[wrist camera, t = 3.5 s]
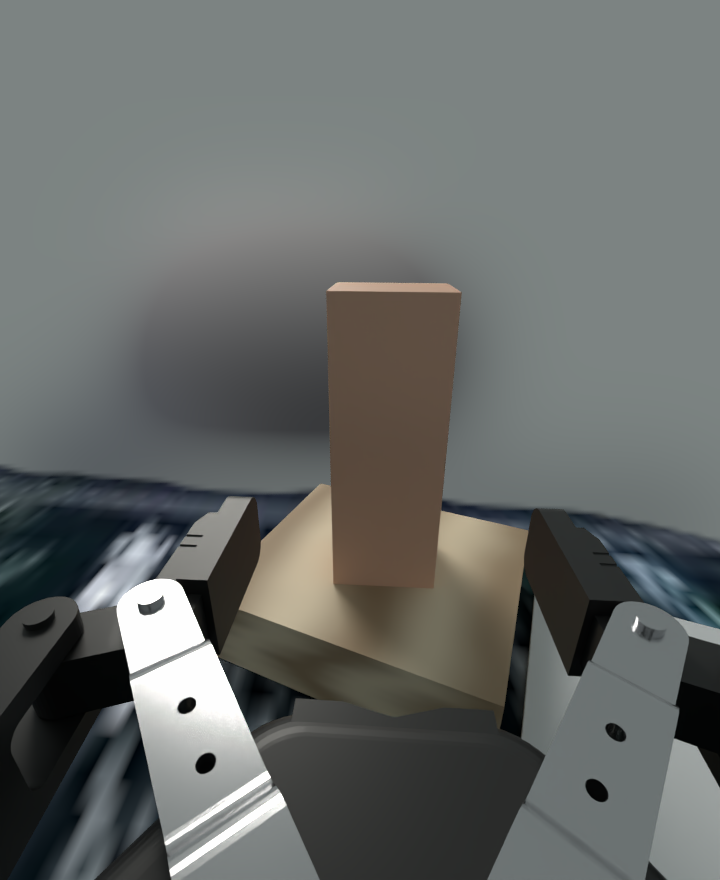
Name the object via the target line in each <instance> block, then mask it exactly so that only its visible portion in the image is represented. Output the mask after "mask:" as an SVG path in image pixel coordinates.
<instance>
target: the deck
mask: <svg viewBox="0 0 720 880" xmlns="http://www.w3.org/2000/svg"><path fill="white" fill-rule="evenodd" d="M527 537H528V530H524V529H519V528H515V527H510V526H506V525H501V524H497V523H493V522H488V521H484V520H479V519H475V518H470V517H466V516H462V515H457V514H453V513H448V512H444V511H441V515H440V526H439V537H438V547H437V558H436V568H435V579H434V588H412V587H389V586H367V585H344V584H333V550H332V508H331V486H329V485H325V484H320V485H319V486H318V487H317V488H316V489H315V490H314V491H312V492H311V493H310V494H309V495H308V496H307V497H306V498H305V499H304V500H303V501H302V502H301V503H300V504H299V505H298V506H297V507H296V508H295V509H294V510H293V511H292V512H291V513H290V514H289V515H288V516H287V517H286V518H285V519H284V520H283V521H282V522H280V523H279V524H278V525H277V526H276V527H275V528H274V529H273V530H272V531H271V532H270V533H269V534H268V535H267V536H266V537H265V538H264V539H263V540H262V541H261V549H260V556H259V561H258V563H257V566H256V568H255V571H254V573H253V576H252V578H251V581H250V583H249V585H248V588H247V590H246V593H245V595H244V598H243V600H242V602H241V605H240V607H239V610H238V612H237V615H236V617H235V620H234V622H233V624H232V627H231V629H230V632H229V634H228V637H227V639H226V642H225V644H224V646H223V649H222V651H221V654H220V655H217V657H219V658H221V659H224V660H226V661H228V662H231V663H233V664H235V665H238V666H240V667H242V668H245V669H247V670H249V671H252V672H254V673H257V674H259V675H261V676H264V677H266V678H268V679H271V680H273V681H275V682H278V683H280V684H282V685H285V686H287V687H290V688H292V689H294V690H297V691H299V692H301V693H304V694H306V695H308V696H311V697H313V698H315V699H318V700H331V701H344V702H347V703H350V704H354V705H357V706H360V707H363V708H366V709H369V710H372V711H375V712H378V713H381V714H384V715H388V716H392V717H398V716H404V715H409V714H414V713H419V712H424V711H429V710H434V709H439V708H444V707H446V708H462V709H479V710H494V715H495V719H496V723H497V728H498V729H500V726H501V721H502V716H503V711H504V706H505V699H506V691H507V684H508V677H509V669H510V662H511V655H512V647H513V640H514V633H515V625H516V618H517V611H518V603H519V596H520V589H521V581H522V574H523V566H524V552H525V547H526V542H527Z"/></svg>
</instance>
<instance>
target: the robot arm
mask: <svg viewBox="0 0 720 880" xmlns="http://www.w3.org/2000/svg"><path fill="white" fill-rule="evenodd" d="M260 549H261V539H260V529H259V520H258V510H257V502H256V499H255V498H254V497H234V496H229V497H228V498H227V499H226V500H225V502H224V503H223V505H222V507H221V508H220V510H219V511H218V513H210V512H209V513H208V514H206V515H205V516H204V517H202V518H201V519H199V520H198V521H197V522H195V523H194V525H193V526H192V528H191V529H190V531H189V532H188V534H187V537H185V538H184V539H183V541H182V542H181V544H180V547H178V548H177V549H176V551H175V552H174V554H173V555H172V557H171V558H170V560H169V561H168V562H167V564H166V565H165V567H164V568H163V570H162V571H161V572H160V574H159V575H158V577H157V578H156V580H152V581H149V582H145V583H143V584H140V585H138V586H136V587H135V588H133V589H132V590H130V591H129V592H128V593H126V594H125V595H124V596H123V597H122V599H121V600H120V602H119V604H118V605H117V606H113V607H108V608H103V609H98V610H93V611H87V612H82V613H80V612H79V609H78V606H77V604H76V602H75V601H74V600H73V599H70V598H67V597H52V598H47V599H43V600H40V601H37V602H35V603H32V604H30V605H28V606H26V607H24V608H23V609H21V610H20V611H18V612H17V613H15V614H14V615H13V616H12V617H11V618H10V619H9V620H8V621H7V622H6V623H5V624H4V625H3V626H2V627H1V628H0V880H7V879H8V877H9V876H10V874H11V872H12V870H13V868H14V867H15V865H16V863H17V861H18V859H19V858H20V856H21V854H22V852H23V850H24V849H25V847H26V845H27V843H28V841H29V839H30V838H31V836H32V834H33V832H34V830H35V829H36V827H37V825H38V823H39V821H40V820H41V818H42V816H43V814H44V812H45V811H46V809H47V807H48V805H49V803H50V801H51V800H52V798H53V796H54V794H55V792H56V791H57V789H58V787H59V785H60V783H61V782H62V780H63V778H64V776H65V774H66V773H67V771H68V769H69V767H70V765H71V763H72V762H73V760H74V758H75V756H76V754H77V753H78V751H79V749H80V747H81V745H82V744H83V742H84V740H85V738H86V736H87V735H88V733H89V731H90V729H91V727H92V725H93V724H94V722H95V720H96V718H97V716H98V715H99V713H100V711H101V709H102V708H106V707H110V706H114V705H118V704H122V703H126V702H130V701H134V702H135V707H136V711H137V716H138V721H139V725H140V730H141V735H142V739H143V744H144V748H145V753H146V758H147V762H148V767H149V772H150V776H151V781H152V786H153V790H154V795H155V799H156V804H157V809H158V813H159V818H158V819H157V820H156V821H155V822H154V823H153V824H152V825H151V826H150V827H149V828H148V829H147V830H146V831H145V832H144V833H143V834H142V835H141V836H140V837H139V838H137V839H136V840H135V841H134V842H133V843H132V844H131V845H130V846H129V847H128V848H127V849H126V850H125V851H124V852H123V853H122V854H121V855H120V856H119V857H118V858H117V859H116V860H115V861H113V862H112V863H111V864H110V865H109V866H108V867H107V868H106V869H105V870H104V871H103V872H102V873H101V874H100V875H99V876H98V877H97V878H96V879H95V880H667V879H666V878H665V877H664V876H663V875H662V874H661V873H660V872H659V871H658V870H657V869H656V868H655V867H654V866H653V865H652V863H651V862H650V861H649V857H650V853H651V848H652V843H653V838H654V833H655V828H656V823H657V818H658V814H659V809H660V804H661V799H662V794H663V789H664V784H665V779H666V775H667V770H668V765H669V760H670V755H671V750H672V745H673V740H674V739H677V740H680V741H683V742H685V743H688V744H691V745H694V746H697V748H698V750H699V751H700V753H701V755H702V757H703V759H704V760H705V762H706V764H707V766H708V768H709V769H710V771H711V773H712V775H713V777H714V778H715V780H716V782H717V784H718V786H719V788H720V645H719V644H715V643H711V642H708V641H704V640H701V639H697V638H694V637H691V636H688V634H687V632H686V630H685V629H684V627H683V626H682V625H681V624H680V623H679V622H678V621H677V620H676V619H675V618H674V617H672V616H671V615H669V614H668V613H666V612H665V611H663V610H661V609H659V608H657V607H654V606H652V605H649V604H645V603H644V602H643V600H642V599H641V598H640V596H639V595H638V593H637V592H636V591H635V589H634V588H633V586H632V585H631V584H630V582H629V581H628V579H627V578H626V576H625V575H624V574H623V572H622V571H621V569H620V568H619V567H617V565H616V562H615V561H614V560H613V558H612V557H611V556H609V553H608V551H607V550H606V548H605V547H604V545H603V544H602V543H601V541H600V540H599V539H598V538H596V537H595V536H594V535H592V534H591V533H590V532H588V531H587V530H586V529H584V528H576V527H575V525H574V524H573V522H572V521H571V519H570V518H569V516H568V515H567V513H566V512H565V511H564V510H562V509H538V508H536V509H534V511H533V513H532V516H531V521H530V526H529V531H528V537H527V542H526V547H525V552H524V567H525V572H526V576H527V578H528V581H529V583H530V585H531V588H532V590H533V593H534V595H535V597H536V600H537V602H538V605H539V607H540V610H541V612H542V614H543V617H544V619H545V622H546V624H547V626H548V629H549V631H550V634H551V636H552V639H553V641H554V643H555V646H556V648H557V651H558V653H559V656H560V658H561V660H562V663H563V665H564V668H565V670H566V672H567V675H568V676H579V677H581V678H580V680H579V683H578V685H577V687H576V689H575V691H574V694H573V696H572V698H571V700H570V703H569V705H568V707H567V709H566V711H565V714H564V716H563V718H562V720H561V723H560V725H559V727H558V729H557V731H556V734H555V736H554V738H553V740H552V743H551V745H550V747H549V749H548V751H547V754H546V755H545V754H543V753H542V752H541V751H540V750H538V749H537V748H535V747H534V746H533V745H531V744H530V743H528V742H526V741H525V740H523V739H521V738H519V737H518V736H515V735H513V734H511V733H509V732H506V731H504V730H501V729H498V728H497V723H496V719H495V715H494V710H479V709H462V708H446V707H444V708H439V709H434V710H429V711H424V712H419V713H414V714H409V715H404V716H398V717H392V716H388V715H384V714H381V713H378V712H375V711H372V710H369V709H366V708H363V707H360V706H357V705H354V704H350V703H347V702H344V701H331V700H314V699H298V698H296V700H295V705H294V710H293V715H291V716H286V717H283V718H280V719H277V720H274V721H271V722H269V723H267V724H265V725H263V726H261V727H259V728H257V729H256V730H254V731H252V732H251V733H250V730H249V728H248V726H247V724H246V721H245V719H244V717H243V714H242V712H241V710H240V708H239V705H238V703H237V701H236V698H235V696H234V694H233V692H232V689H231V687H230V685H229V682H228V680H227V678H226V676H225V673H224V671H223V669H222V667H221V664H220V662H219V660H218V657H217V655H220V654H221V651H222V649H223V646H224V644H225V642H226V639H227V637H228V634H229V632H230V629H231V627H232V624H233V622H234V620H235V617H236V615H237V612H238V610H239V607H240V605H241V602H242V600H243V598H244V595H245V593H246V590H247V588H248V585H249V583H250V581H251V578H252V576H253V573H254V571H255V568H256V566H257V563H258V561H259V556H260Z"/></svg>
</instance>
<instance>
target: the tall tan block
mask: <svg viewBox="0 0 720 880" xmlns="http://www.w3.org/2000/svg"><path fill="white" fill-rule="evenodd" d="M461 294H462V293H461V292H460V291H459V290H457V289H456V288H454V287H452V286H451V285H449V284H444V283H438V284H437V283H353V282H352V283H351V282H348V283H347V282H337V283H336V284H335V285H333V286H332V287H331V288H330V289H328V290H327V291H326V295H327V338H328V378H329V379H328V381H329V422H330V463H331V464H330V465H331V508H332V550H333V584H344V585H367V586H389V587H412V588H434V579H435V568H436V558H437V547H438V537H439V526H440V515H441V505H442V494H443V484H444V473H445V463H446V462H445V461H446V452H447V442H448V431H449V421H450V410H451V399H452V389H453V378H454V368H455V356H456V346H457V336H458V325H459V315H460V305H461Z"/></svg>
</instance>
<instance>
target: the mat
mask: <svg viewBox="0 0 720 880" xmlns="http://www.w3.org/2000/svg"><path fill="white" fill-rule="evenodd" d="M675 619H676V620H677V621H678V622H679V623H680V624H681V625H682V626H683V627H684V629H685V630H686V632H687V634H688V636H691V637H694V638H697V639H701V640H704V641H708V642H711V643H715V644H719V645H720V629H716V628H712V627H708V626H705V625H701V624H697V623H693V622H689V621H686V620H682V619H678V618H675ZM580 678H581V677H579V676H568V675H567V672H566V670H565V668H564V665H563V663H562V660H561V658H560V656H559V653H558V651H557V648H556V646H555V643H554V641H553V639H552V636H551V634H550V631H549V629H548V626H547V624H546V622H545V619H544V617H543V614H542V612H541V610H540V607H539V605H538V602H537V600H536V597H535V595H534V603H533V614H532V624H531V635H530V645H529V656H528V666H527V677H526V688H525V698H524V709H523V719H522V730H521V739H523V740H525V741H526V742H528V743H530V744H531V745H533V746H534V747H535V748H537V749H538V750H540V751H541V752H542V753H543V754H545V755H546V754H547V751H548V749H549V747H550V745H551V743H552V740H553V738H554V736H555V734H556V731H557V729H558V727H559V725H560V723H561V720H562V718H563V716H564V714H565V711H566V709H567V707H568V705H569V703H570V700H571V698H572V696H573V694H574V691H575V689H576V687H577V685H578V683H579V680H580ZM649 861H650V862H651V863H652V865H653V866H654V867H655V868H656V869H657V870H658V871H659V872H660V873H661V874H662V875H663V876H664V877H665V878H666V879H667V880H720V788H719V786H718V784H717V782H716V780H715V778H714V777H713V775H712V773H711V771H710V769H709V768H708V766H707V764H706V762H705V760H704V759H703V757H702V755H701V753H700V751H699V750H698V748H697V746H694V745H691V744H688V743H685V742H683V741H680V740H677V739H674V740H673V745H672V750H671V755H670V760H669V765H668V770H667V775H666V779H665V784H664V789H663V794H662V799H661V804H660V809H659V814H658V818H657V823H656V828H655V833H654V838H653V843H652V848H651V853H650V857H649Z"/></svg>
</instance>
